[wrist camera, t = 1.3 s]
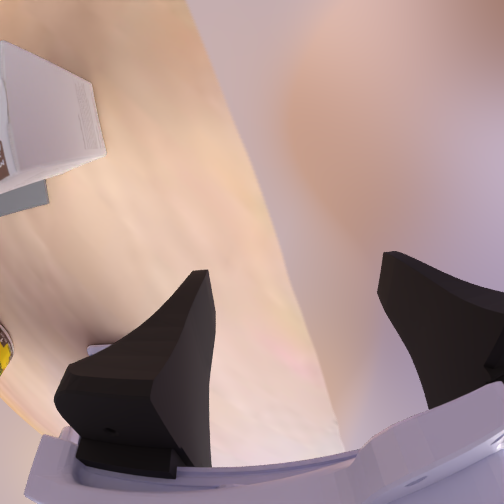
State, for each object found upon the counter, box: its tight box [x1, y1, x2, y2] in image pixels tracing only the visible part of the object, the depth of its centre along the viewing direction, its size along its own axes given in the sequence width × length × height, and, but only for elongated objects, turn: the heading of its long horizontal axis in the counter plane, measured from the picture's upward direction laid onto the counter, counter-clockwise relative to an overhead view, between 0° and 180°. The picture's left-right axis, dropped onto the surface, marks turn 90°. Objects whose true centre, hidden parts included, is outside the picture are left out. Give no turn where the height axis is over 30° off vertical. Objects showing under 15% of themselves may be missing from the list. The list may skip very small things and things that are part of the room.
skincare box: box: [0, 40, 107, 194], centre depth 12 cm, size 6×4×12 cm
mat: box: [0, 179, 49, 217], centre depth 16 cm, size 9×8×1 cm
